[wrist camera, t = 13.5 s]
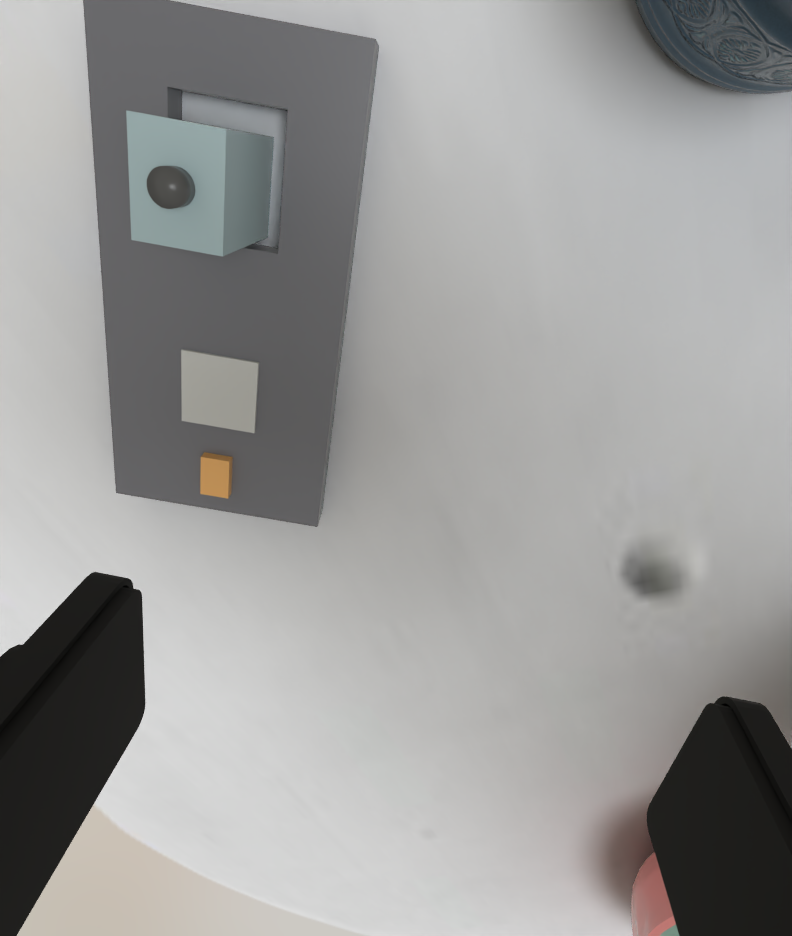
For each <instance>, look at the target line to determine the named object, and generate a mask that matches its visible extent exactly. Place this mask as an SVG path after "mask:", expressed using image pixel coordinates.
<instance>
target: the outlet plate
mask: <svg viewBox="0 0 792 936" xmlns="http://www.w3.org/2000/svg"><path fill="white" fill-rule="evenodd" d="M83 2H84V17H85V33H86V48H87V63H88V78H89V93H90V108H91V123H92V138H93V153H94V168H95V183H96V198H97V213H98V228H99V243H100V258H101V273H102V288H103V303H104V318H105V333H106V348H107V363H108V378H109V393H110V408H111V423H112V438H113V453H114V468H115V483H116V493H120V494H125V495H131V496H137V497H143V498H149V499H155V500H161V501H167V502H173V503H179V504H185V505H191V506H197V507H203V508H209V509H215V510H220V511H226V512H232V513H238V514H244V515H250V516H256V517H262V518H268V519H274V520H280V521H286V522H292V523H298V524H304V525H309V526H315V527H317V526H318V523H319V520H320V517H321V514H322V508H323V500H324V492H325V483H326V475H327V467H328V459H329V451H330V442H331V434H332V426H333V418H334V410H335V402H336V393H337V385H338V377H339V369H340V361H341V353H342V344H343V336H344V328H345V320H346V312H347V303H348V295H349V287H350V279H351V271H352V263H353V254H354V246H355V238H356V230H357V222H358V213H359V205H360V197H361V189H362V181H363V173H364V164H365V156H366V148H367V140H368V132H369V123H370V115H371V107H372V99H373V91H374V83H375V74H376V66H377V58H378V50H379V45H378V43H377V41H376V39H372V38H367V37H362V36H356V35H351V34H346V33H340V32H335V31H330V30H324V29H319V28H314V27H308V26H303V25H298V24H292V23H287V22H282V21H276V20H271V19H266V18H260V17H255V16H250V15H244V14H239V13H234V12H228V11H223V10H218V9H212V8H207V7H202V6H196V5H191V4H186V3H180V2H175V1H170V0H83ZM182 91H185V92H191V93H196V94H202V95H207V96H212V97H218V98H223V99H229V100H234V101H240V102H245V103H250V104H256V105H261V106H267V107H272V108H278V109H283V110H287V125H286V140H285V156H284V171H283V186H282V201H281V216H280V231H279V247H278V248H273V247H267V246H262V245H256V244H251V245H249V246H246V247H244V248H241V249H239V250H237V251H234V252H232V253H230V254H227V255H225V256H217V255H212V254H206V253H201V252H195V251H190V250H184V249H179V248H173V247H168V246H162V245H157V244H151V243H146V242H140V241H135V240H131V217H130V192H129V167H128V142H127V117H126V110H127V111H133V112H139V113H144V114H150V115H155V116H161V117H167V118H172V119H178V120H182Z"/></svg>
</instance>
